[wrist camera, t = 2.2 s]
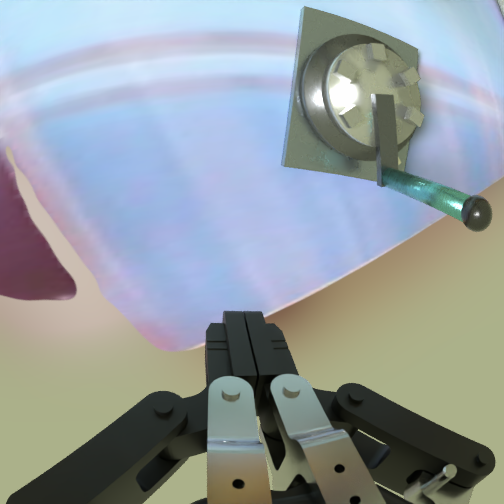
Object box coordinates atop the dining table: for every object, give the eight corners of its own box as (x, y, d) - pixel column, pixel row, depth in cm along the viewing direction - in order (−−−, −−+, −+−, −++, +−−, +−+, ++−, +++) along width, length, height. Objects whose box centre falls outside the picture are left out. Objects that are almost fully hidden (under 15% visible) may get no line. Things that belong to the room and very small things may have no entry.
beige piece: (526, 60, 28) (486, -45, 15) (504, 56, 34) (464, -42, 21) (532, 56, 28) (495, -43, 14) (511, 52, 33) (474, -41, 20)
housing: (300, 10, 28) (309, 0, 25) (412, 50, 31) (426, 47, 28) (281, 165, 36) (288, 168, 33) (395, 184, 40) (409, 189, 36)
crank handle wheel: (313, 45, 27) (414, -11, 10) (402, 53, 28) (515, 36, 11) (330, 189, 35) (433, 252, 18) (413, 179, 36) (520, 225, 19)
